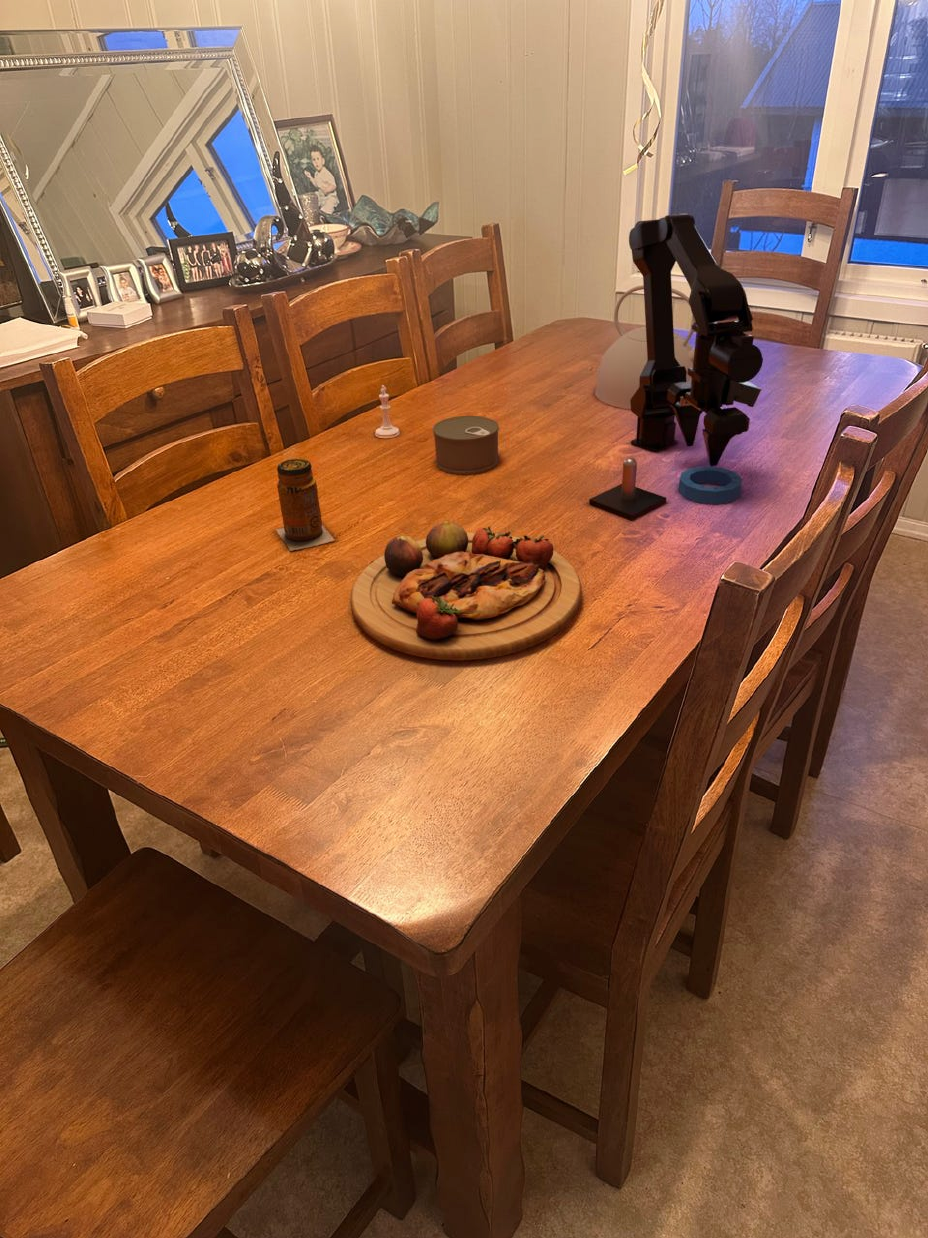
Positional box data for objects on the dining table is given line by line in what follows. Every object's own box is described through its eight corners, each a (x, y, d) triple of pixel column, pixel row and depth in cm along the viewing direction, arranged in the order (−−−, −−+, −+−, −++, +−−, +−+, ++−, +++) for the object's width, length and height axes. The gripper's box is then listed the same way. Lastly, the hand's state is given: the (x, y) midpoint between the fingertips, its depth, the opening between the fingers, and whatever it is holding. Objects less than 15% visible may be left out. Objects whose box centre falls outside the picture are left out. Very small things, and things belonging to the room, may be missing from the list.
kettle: (725, 386, 192) (739, 278, 180) (689, 418, 176) (701, 303, 164) (620, 372, 204) (626, 270, 192) (577, 401, 188) (581, 292, 176)
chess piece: (371, 436, 176) (366, 388, 170) (382, 428, 179) (377, 380, 174) (393, 439, 174) (388, 390, 168) (403, 430, 178) (399, 382, 172)
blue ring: (666, 492, 148) (668, 479, 146) (701, 474, 153) (703, 461, 152) (717, 509, 141) (719, 496, 140) (751, 490, 147) (753, 477, 146)
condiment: (318, 520, 144) (308, 452, 138) (335, 541, 138) (325, 470, 131) (275, 531, 142) (263, 462, 135) (290, 552, 135) (278, 481, 129)
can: (467, 445, 170) (465, 410, 166) (512, 460, 162) (512, 424, 158) (422, 463, 163) (419, 428, 159) (467, 480, 155) (465, 444, 152)
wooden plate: (509, 694, 103) (508, 636, 98) (303, 624, 118) (294, 571, 113) (618, 574, 125) (621, 522, 121) (434, 528, 140) (431, 480, 136)
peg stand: (589, 504, 145) (590, 458, 141) (623, 487, 150) (626, 443, 146) (631, 520, 139) (635, 473, 135) (666, 503, 144) (670, 457, 140)
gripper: (787, 375, 133) (772, 470, 142) (731, 343, 149) (720, 431, 157) (719, 383, 132) (708, 479, 140) (669, 350, 147) (662, 438, 156)
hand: (701, 455), depth 148 cm, fingers open, 9 cm apart
